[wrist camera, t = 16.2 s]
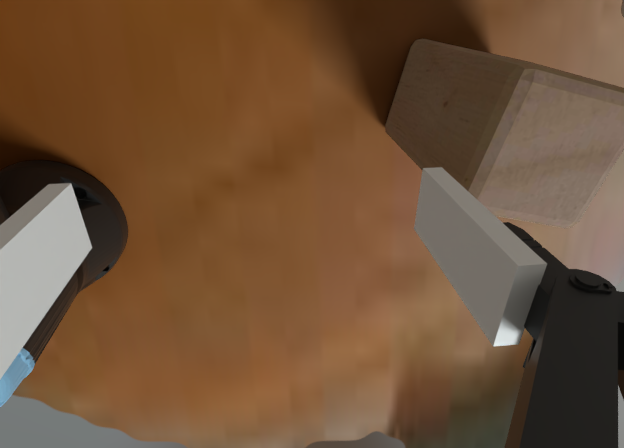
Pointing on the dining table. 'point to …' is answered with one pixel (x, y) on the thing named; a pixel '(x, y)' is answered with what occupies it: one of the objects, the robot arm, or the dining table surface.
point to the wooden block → (509, 130)
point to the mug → (622, 8)
